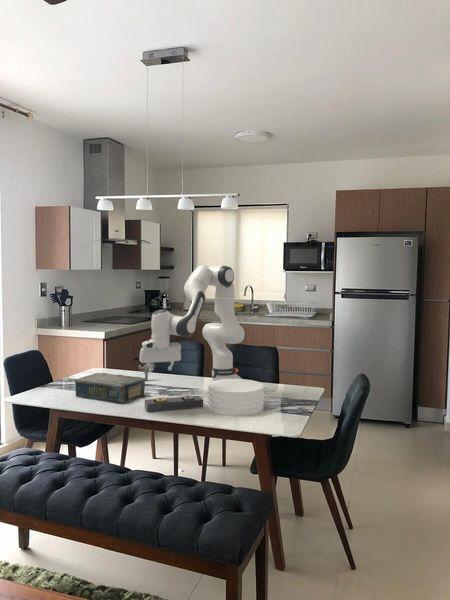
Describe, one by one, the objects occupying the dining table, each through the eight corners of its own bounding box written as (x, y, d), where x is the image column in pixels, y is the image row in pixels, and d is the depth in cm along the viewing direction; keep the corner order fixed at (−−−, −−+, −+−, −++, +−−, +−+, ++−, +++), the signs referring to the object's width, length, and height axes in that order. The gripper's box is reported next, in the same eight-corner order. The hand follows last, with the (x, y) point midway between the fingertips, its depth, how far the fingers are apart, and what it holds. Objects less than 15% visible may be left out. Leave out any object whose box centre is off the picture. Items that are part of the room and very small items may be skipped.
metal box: (122, 405, 247) (122, 385, 247) (73, 397, 261) (73, 378, 261) (146, 395, 266) (146, 377, 266) (99, 388, 280) (99, 371, 280)
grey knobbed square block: (190, 405, 248) (190, 395, 247) (192, 407, 244) (193, 397, 243) (182, 405, 246) (182, 395, 246) (184, 408, 242) (184, 397, 242)
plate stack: (231, 397, 265) (231, 376, 264) (274, 406, 247) (274, 384, 246) (196, 408, 243) (196, 385, 242) (240, 419, 225) (241, 395, 225)
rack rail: (198, 403, 251) (198, 395, 251) (203, 407, 243) (203, 399, 243) (144, 407, 242) (144, 399, 242) (147, 412, 234) (147, 403, 234)
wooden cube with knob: (163, 407, 243) (163, 397, 243) (165, 409, 239) (165, 399, 239) (154, 408, 242) (154, 397, 241) (156, 410, 238) (156, 400, 237)
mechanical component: (137, 380, 300) (137, 364, 299) (154, 379, 303) (154, 363, 303) (138, 381, 297) (138, 365, 297) (155, 380, 300) (155, 364, 300)
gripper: (179, 341, 245) (179, 368, 246) (138, 342, 238) (138, 370, 239) (182, 343, 239) (182, 370, 240) (140, 344, 232) (141, 373, 233)
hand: (160, 370), depth 239 cm, fingers open, 8 cm apart
